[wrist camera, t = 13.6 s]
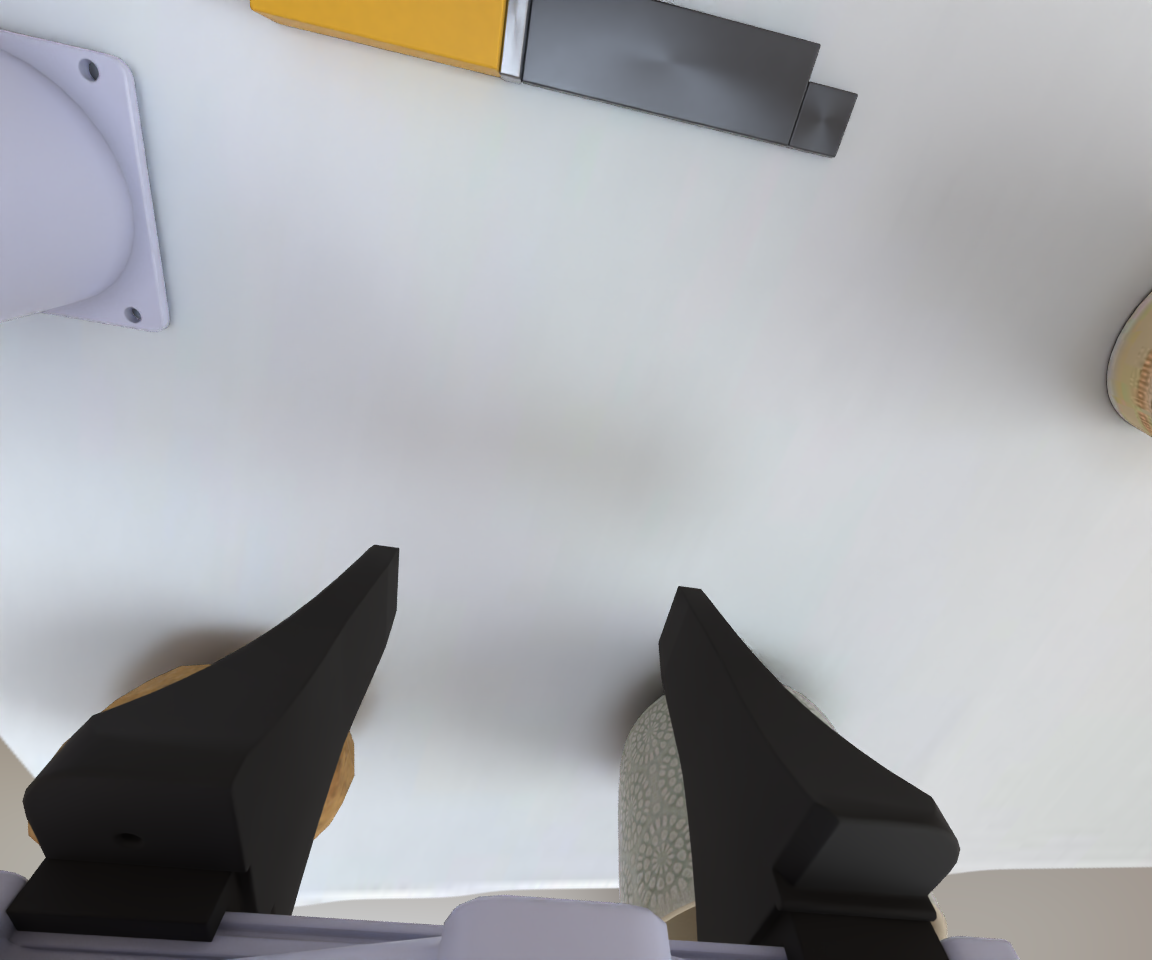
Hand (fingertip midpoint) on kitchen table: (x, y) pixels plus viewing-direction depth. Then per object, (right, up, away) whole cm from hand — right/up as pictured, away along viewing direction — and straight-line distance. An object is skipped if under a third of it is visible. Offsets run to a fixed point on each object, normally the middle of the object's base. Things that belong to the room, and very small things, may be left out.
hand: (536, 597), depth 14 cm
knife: (+1, +16, +2) cm, 16 cm away
